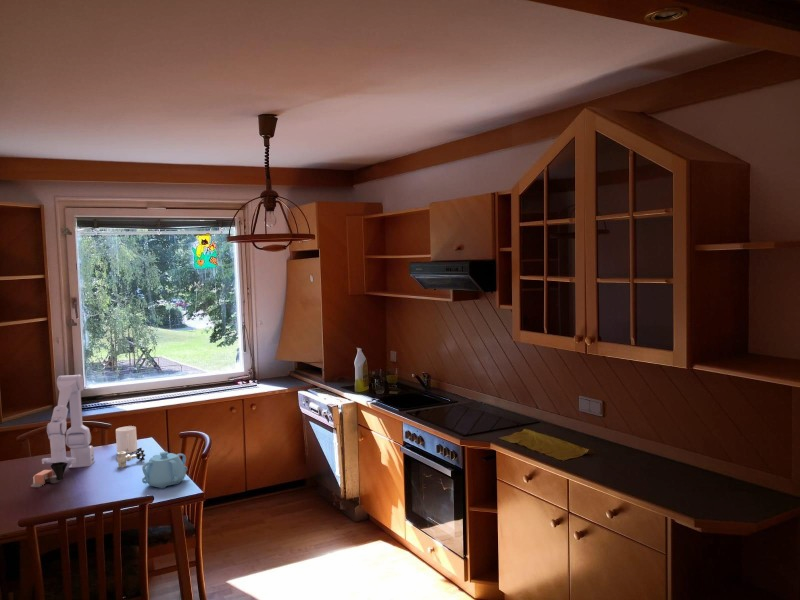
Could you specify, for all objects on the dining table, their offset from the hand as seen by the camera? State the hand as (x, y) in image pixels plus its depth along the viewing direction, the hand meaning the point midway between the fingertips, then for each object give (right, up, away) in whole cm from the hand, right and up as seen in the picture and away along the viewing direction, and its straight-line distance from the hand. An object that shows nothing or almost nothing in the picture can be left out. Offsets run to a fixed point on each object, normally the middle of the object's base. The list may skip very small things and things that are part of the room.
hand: (60, 479), depth 288 cm
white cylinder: (+12, +2, +43) cm, 44 cm away
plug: (-6, -1, +1) cm, 6 cm away
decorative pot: (+49, 0, -8) cm, 49 cm away
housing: (-7, -1, +1) cm, 7 cm away
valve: (+21, +1, +22) cm, 31 cm away
